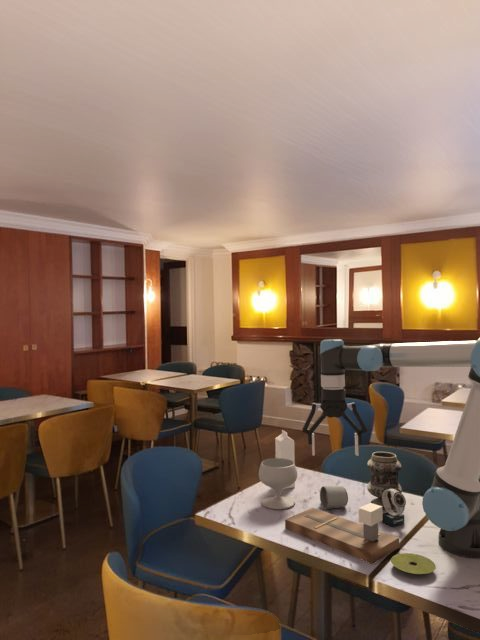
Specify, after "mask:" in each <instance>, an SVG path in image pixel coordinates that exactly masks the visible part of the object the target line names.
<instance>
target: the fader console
mask: <svg viewBox="0 0 480 640" xmlns="http://www.w3.org/2000/svg"><path fill="white" fill-rule="evenodd" d="M284 521H285V522H284V526H285V527H284V529H285V530H288V531H289V532H292V533H294V534H297V535H300V536H302V537H305V538H307V539H310V540H312V541H314V542H317V543H318V544H319V543H320V544H322V545H325V546H326V547H329V548H332V549H335V550H337V551H339V552H342V553H344V554H346V555H349V556H351V557H354V558H356V559H358V560H361V559H362V560H361V561H363V560H364V561H363V562H366V561H367V562H366V563H368V562H369V564H371V565H374V564H376V563H377V562H379V561H381V560H382V559H384V558H385V557H387V556H388V555H390V554H392V553H393V552H396V550H398V549H400V537H399V536H397V535H393V534H390V533H387V532H386V531H385V532H384V531H382V530H379V529H378V539H377V540H375V541H373V542H372V541H369V540H367V539H364V532H363V523H360V522H359V523H358V522H356V521H353V520H350V519H347V518H344V517H341V516H339V515H337V514H333V513H330V512H327V511H324V510H321V509H318V508H315V507H311V508H308V509H306V510H304V511H302V512H299V513H296V514H294V515H292V516H288V518H284Z"/></svg>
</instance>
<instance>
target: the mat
mask: <svg viewBox="0 0 480 640" xmlns="http://www.w3.org/2000/svg"><path fill="white" fill-rule="evenodd" d="M390 563H391V564H392V565H393V566H394V568H396V569H398V570H400V571H403V572H405V573H410V574H413V575H423V574H424V575H425V574H430V573H432V572H434V571H435V570H436V563H435V562H434V561H433V560H432V559H430V558H428V557H427V556H424V555H421V554H418V553H407V552H403V553H401V552H400V553H398V554H395V555H393V556H392V557H391V558H390Z"/></svg>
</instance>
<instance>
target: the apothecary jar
mask: <svg viewBox="0 0 480 640" xmlns="http://www.w3.org/2000/svg"><path fill="white" fill-rule="evenodd" d="M367 467H368V469H369V470H370V481H369V482H368V483H367V486H366V488H367V491H368V492H369V494H370V495H372V496H373V497H375V498H373V499H372V500H370V503H373V504H376V505H379V506H382V510H385V508H384V505H383V502H382V494H383V492H384V491H385V490H388V489H396V490H397V491H399V492H400V493H402V494H403V487H402V486H401V484H400V483H399V472H400V471H401V470H402V463H401V462H400V461H399V460H398V458H397V455H396V453H393V452H388V451H375V452H372V454H371V458H370V459H369V460H368V461H367ZM387 496H388V499H389V503H390V505H391V509H392V510H395V509H396V507H395V506H394V505H393V503H392V500H391V494H390V491H389V492H388V494H387Z"/></svg>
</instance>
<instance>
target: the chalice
mask: <svg viewBox="0 0 480 640" xmlns="http://www.w3.org/2000/svg"><path fill="white" fill-rule="evenodd" d="M258 469H259V470H258V478H259V480H260V482H261V483H263V485H265V486H267V487H269V488H271V489H272V490H273V491H274V493H275V496H269V497H266V498H263V500H262V501H261V505H262V506H263V507H265V508H268V509H271V510H272V509H273V510H285V509H290V508H293V507H294V506H295V505H296V502H295V500H293V499H292V498H290V497H286V496H281V494H282V492H283V491H284V490H285V489H284V488H286V487H288V486H290V485H292V484H293V483H294V482H295V483H296V481H297V479H298V470H297V466H296V465H295V464H294V462H293V461H291V460H288V459H283V458H276V457H274V458H267V459H263V460H261V463H260V464H259V468H258Z"/></svg>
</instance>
